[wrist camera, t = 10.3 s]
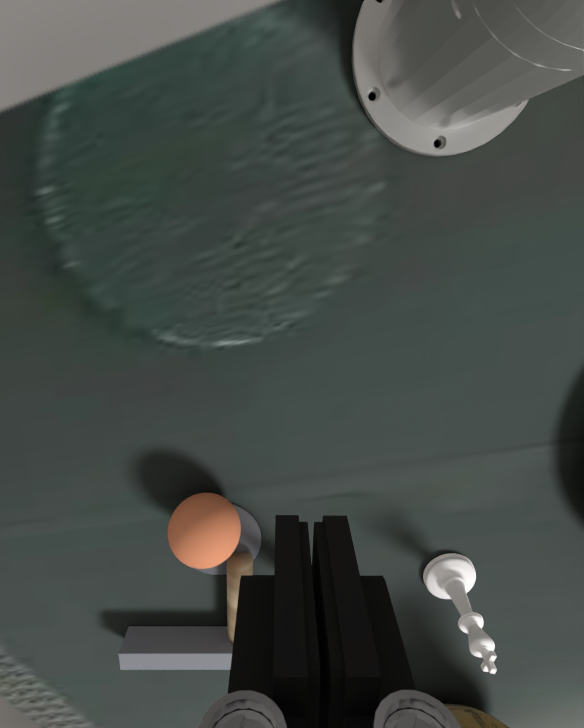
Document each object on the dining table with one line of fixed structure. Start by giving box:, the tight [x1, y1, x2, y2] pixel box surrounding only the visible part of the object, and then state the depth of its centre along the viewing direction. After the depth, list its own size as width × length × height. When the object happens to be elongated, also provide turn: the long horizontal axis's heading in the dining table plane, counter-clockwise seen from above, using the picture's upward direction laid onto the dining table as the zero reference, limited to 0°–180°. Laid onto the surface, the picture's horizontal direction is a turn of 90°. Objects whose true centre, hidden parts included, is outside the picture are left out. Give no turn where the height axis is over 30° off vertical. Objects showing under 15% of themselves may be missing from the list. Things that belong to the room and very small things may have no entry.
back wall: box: [119, 626, 233, 670], centre depth 45 cm, size 2×18×3 cm, turn 89°
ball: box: [168, 493, 241, 569], centre depth 39 cm, size 6×6×6 cm
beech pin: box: [227, 552, 253, 644], centre depth 44 cm, size 2×2×9 cm
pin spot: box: [192, 503, 261, 575], centre depth 43 cm, size 8×8×1 cm
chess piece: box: [423, 553, 497, 674], centre depth 40 cm, size 5×5×10 cm
